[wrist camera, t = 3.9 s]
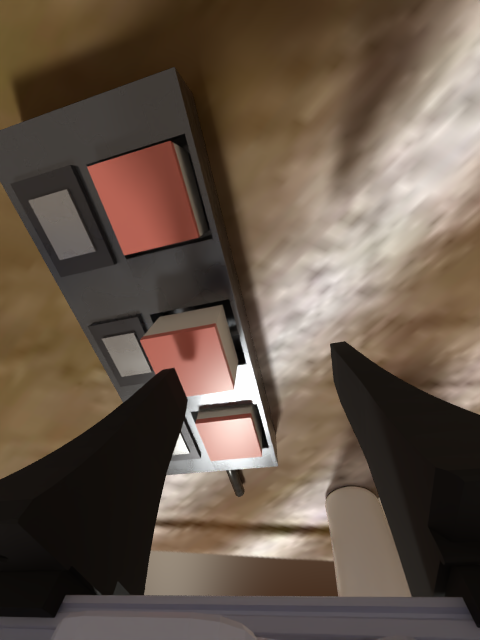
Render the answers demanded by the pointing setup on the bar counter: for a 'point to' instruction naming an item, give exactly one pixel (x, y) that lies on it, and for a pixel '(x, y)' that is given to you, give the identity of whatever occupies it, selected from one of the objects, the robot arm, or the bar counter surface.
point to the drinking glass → (363, 546)
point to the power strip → (138, 268)
